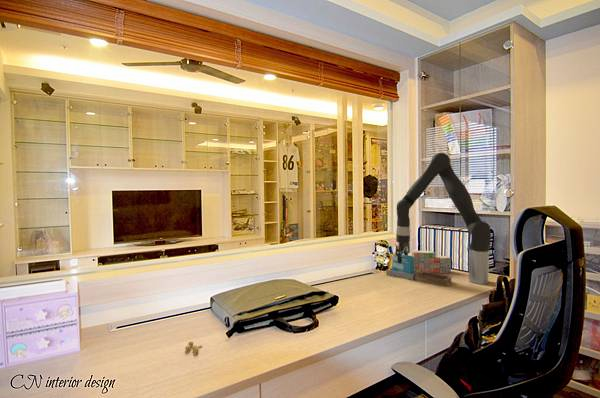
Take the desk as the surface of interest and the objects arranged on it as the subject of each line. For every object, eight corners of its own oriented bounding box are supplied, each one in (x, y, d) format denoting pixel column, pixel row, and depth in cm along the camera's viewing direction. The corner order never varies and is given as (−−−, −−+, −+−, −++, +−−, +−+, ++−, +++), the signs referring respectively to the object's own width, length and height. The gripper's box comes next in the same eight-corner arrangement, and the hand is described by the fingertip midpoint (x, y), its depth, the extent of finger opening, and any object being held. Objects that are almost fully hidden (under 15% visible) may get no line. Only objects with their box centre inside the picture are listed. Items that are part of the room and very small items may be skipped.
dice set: (197, 356, 97) (197, 350, 97) (181, 355, 98) (181, 348, 97) (204, 348, 102) (204, 342, 102) (190, 346, 102) (190, 341, 102)
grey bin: (393, 271, 193) (393, 266, 192) (419, 276, 182) (420, 271, 182) (386, 275, 185) (386, 270, 185) (413, 280, 174) (413, 274, 174)
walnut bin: (421, 276, 181) (421, 271, 181) (451, 282, 171) (451, 276, 171) (414, 280, 174) (415, 275, 174) (445, 286, 163) (445, 280, 163)
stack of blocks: (447, 270, 195) (447, 251, 194) (450, 273, 189) (451, 253, 188) (411, 269, 198) (411, 250, 197) (413, 272, 192) (413, 252, 191)
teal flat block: (392, 274, 187) (392, 254, 187) (396, 273, 190) (396, 253, 189) (409, 278, 177) (409, 257, 177) (414, 277, 180) (414, 256, 180)
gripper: (404, 236, 175) (403, 265, 175) (414, 233, 186) (413, 260, 186) (391, 234, 180) (391, 262, 180) (402, 232, 191) (401, 258, 191)
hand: (402, 261), depth 183 cm, fingers open, 8 cm apart
